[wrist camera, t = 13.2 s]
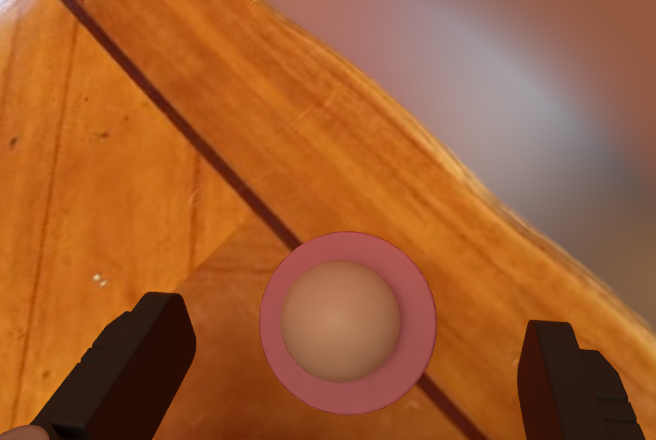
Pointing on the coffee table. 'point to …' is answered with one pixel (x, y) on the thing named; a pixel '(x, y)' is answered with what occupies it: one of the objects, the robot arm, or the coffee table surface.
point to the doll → (348, 323)
